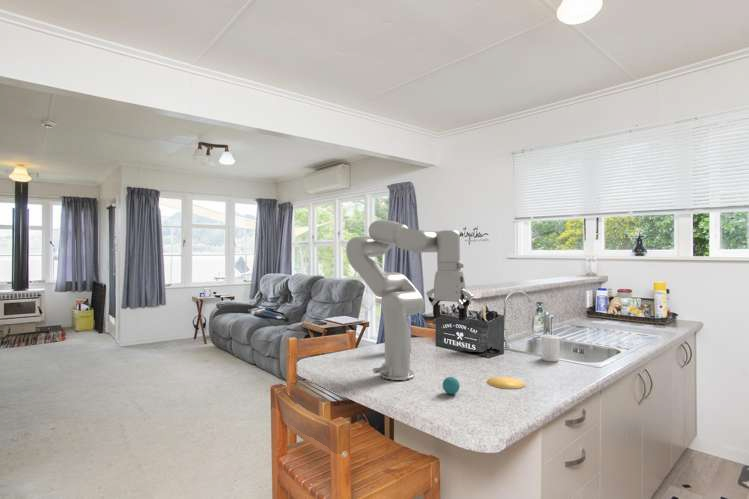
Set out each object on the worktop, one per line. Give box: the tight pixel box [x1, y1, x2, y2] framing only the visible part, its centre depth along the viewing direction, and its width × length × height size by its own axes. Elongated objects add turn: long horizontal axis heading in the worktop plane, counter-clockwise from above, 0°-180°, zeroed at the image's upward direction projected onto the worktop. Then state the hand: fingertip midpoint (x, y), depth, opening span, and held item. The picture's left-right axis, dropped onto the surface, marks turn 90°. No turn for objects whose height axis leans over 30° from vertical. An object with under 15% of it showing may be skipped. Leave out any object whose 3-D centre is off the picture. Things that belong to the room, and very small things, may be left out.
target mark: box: [486, 376, 526, 390], centre depth 147 cm, size 13×13×1 cm
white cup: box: [539, 333, 561, 362], centre depth 178 cm, size 8×8×10 cm
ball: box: [442, 376, 461, 395], centre depth 136 cm, size 6×6×6 cm
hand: (449, 318), depth 138 cm, fingers open, 9 cm apart
